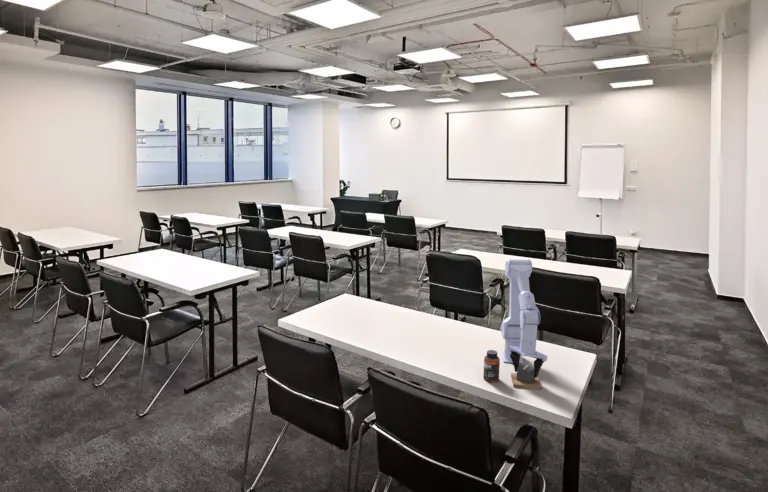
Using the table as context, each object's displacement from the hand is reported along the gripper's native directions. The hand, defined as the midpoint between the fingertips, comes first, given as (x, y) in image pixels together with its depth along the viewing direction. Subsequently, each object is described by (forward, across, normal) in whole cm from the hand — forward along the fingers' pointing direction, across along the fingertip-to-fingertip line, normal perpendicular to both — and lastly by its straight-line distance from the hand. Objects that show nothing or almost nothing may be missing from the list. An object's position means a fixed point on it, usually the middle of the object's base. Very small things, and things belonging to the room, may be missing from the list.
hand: (526, 373), depth 179 cm
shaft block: (+3, 0, 0) cm, 3 cm away
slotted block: (+2, 0, 0) cm, 2 cm away
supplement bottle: (+4, -11, -6) cm, 14 cm away
